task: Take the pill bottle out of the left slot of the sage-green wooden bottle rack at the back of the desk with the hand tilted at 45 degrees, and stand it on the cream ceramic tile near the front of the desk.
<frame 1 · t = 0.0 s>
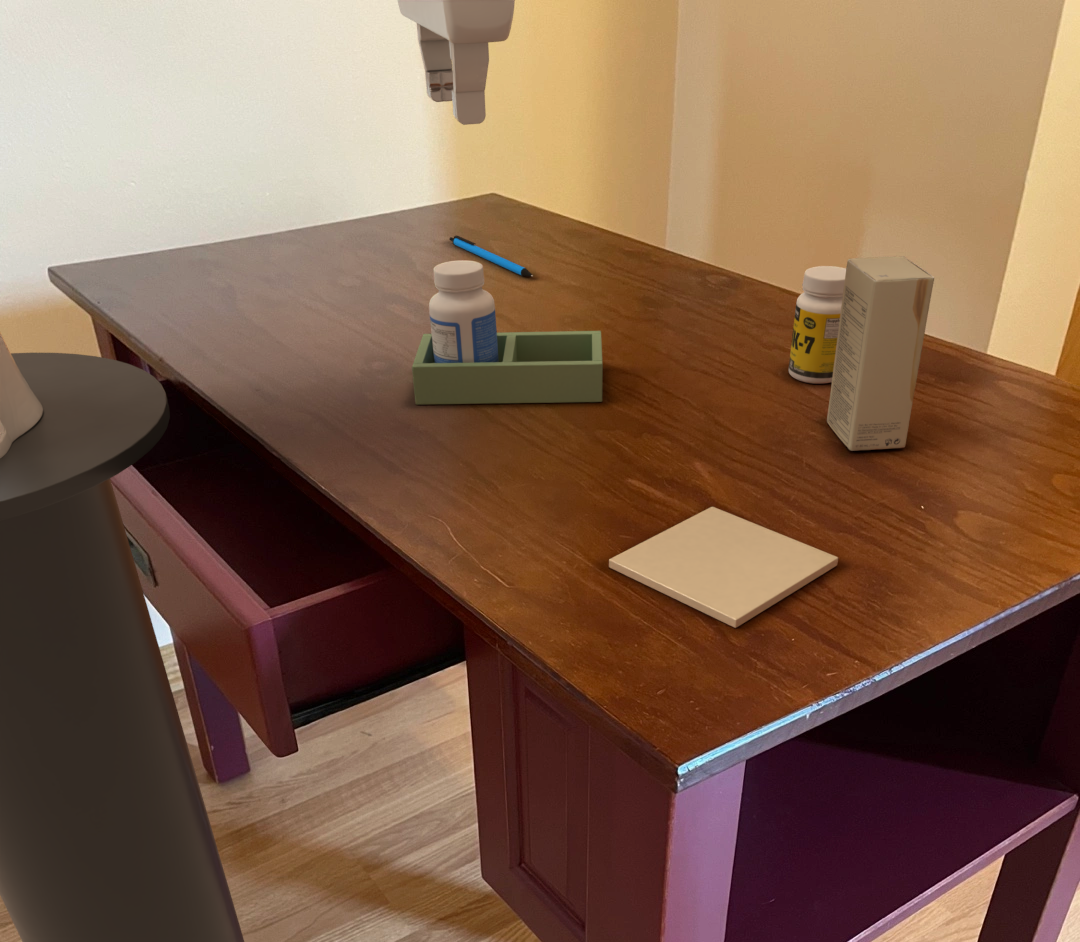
hand: (455, 111, 71), 22 cm above the table, tool pointing down, fingers open, 8 cm apart
bottle rack: (511, 385, 92), on the table
pill bottle: (468, 388, 93), resting in bottle rack
supplement bottle: (815, 377, 93), on the table
tile: (722, 566, 67), on the table
cosmetic box: (863, 437, 82), on the table
pen: (489, 262, 123), on the table
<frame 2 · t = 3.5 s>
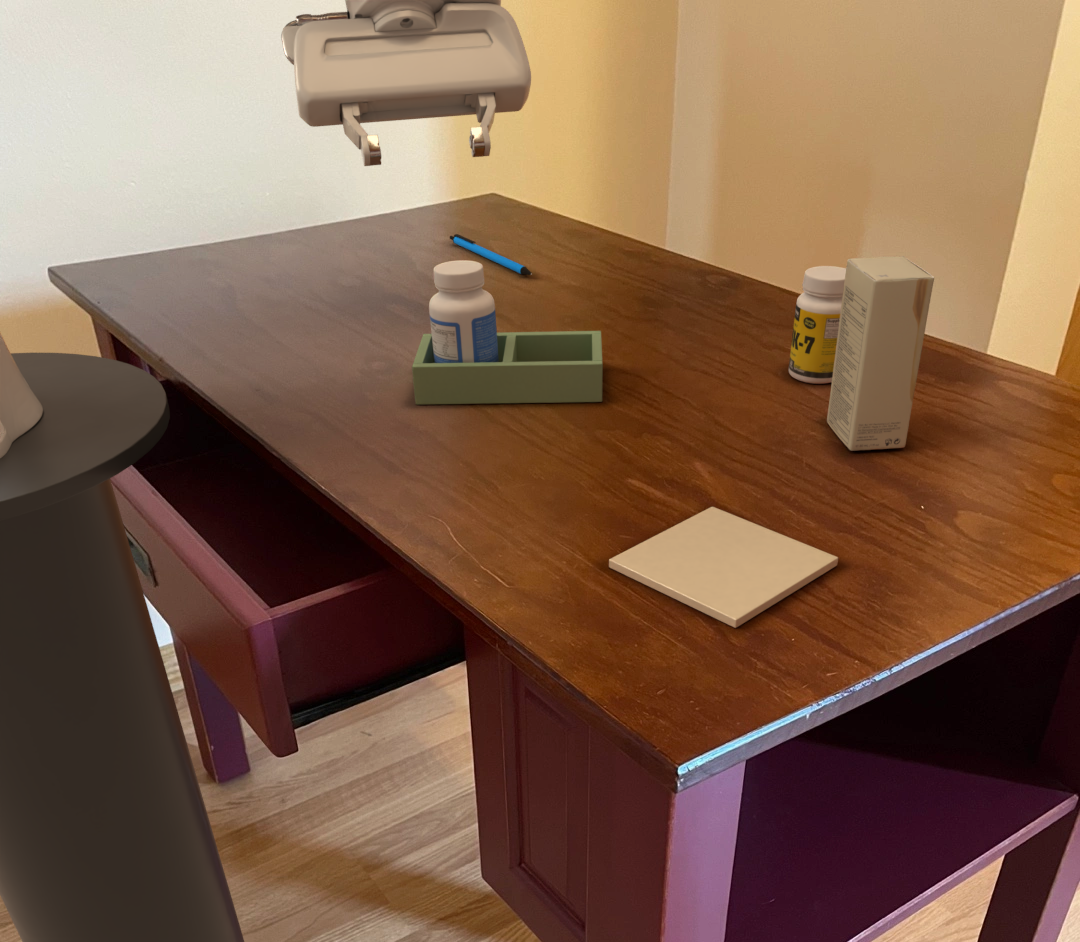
hand: (427, 157, 93), 16 cm above the table, tool tilted 45°, fingers open, 8 cm apart
nothing on the table moved.
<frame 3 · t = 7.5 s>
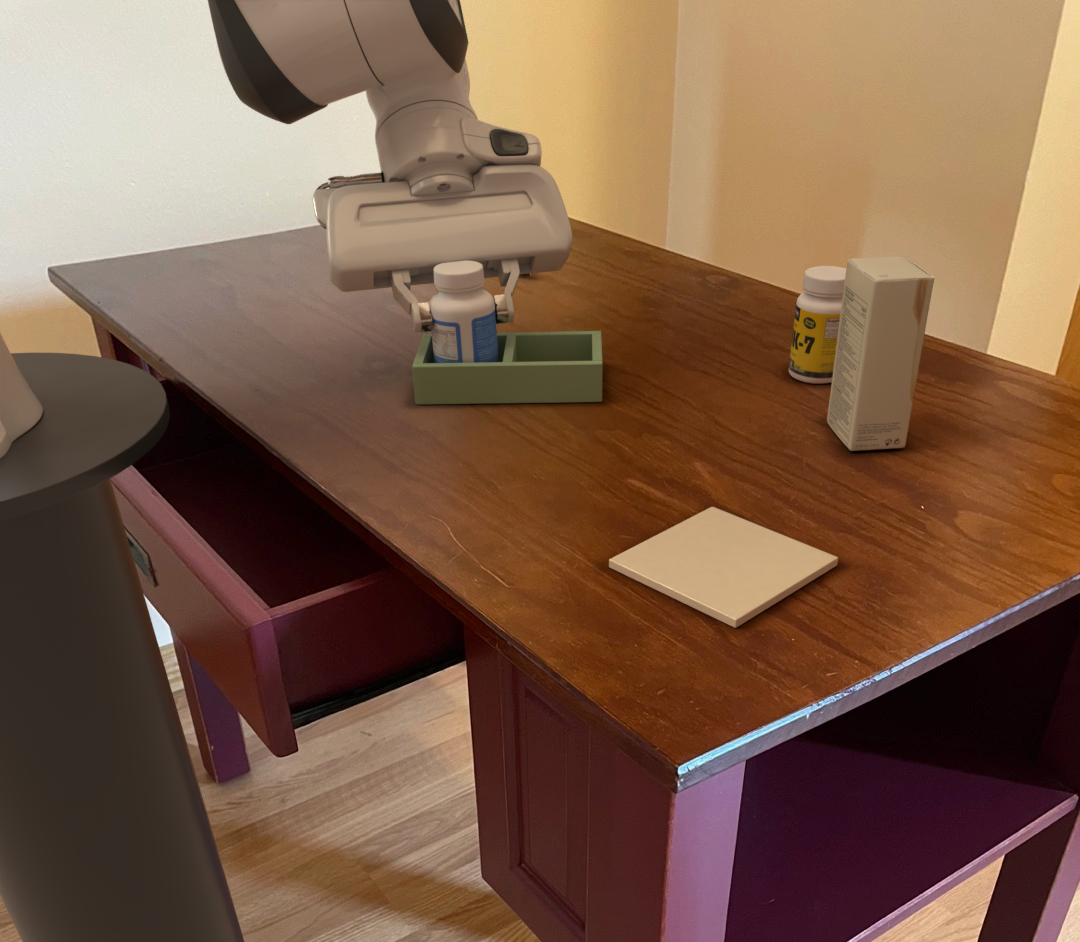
hand: (465, 324, 89), 5 cm above the table, tool tilted 45°, fingers closed on pill bottle, 5 cm apart
pill bottle: (468, 388, 93), resting in bottle rack, touching gripper
everything else where it was.
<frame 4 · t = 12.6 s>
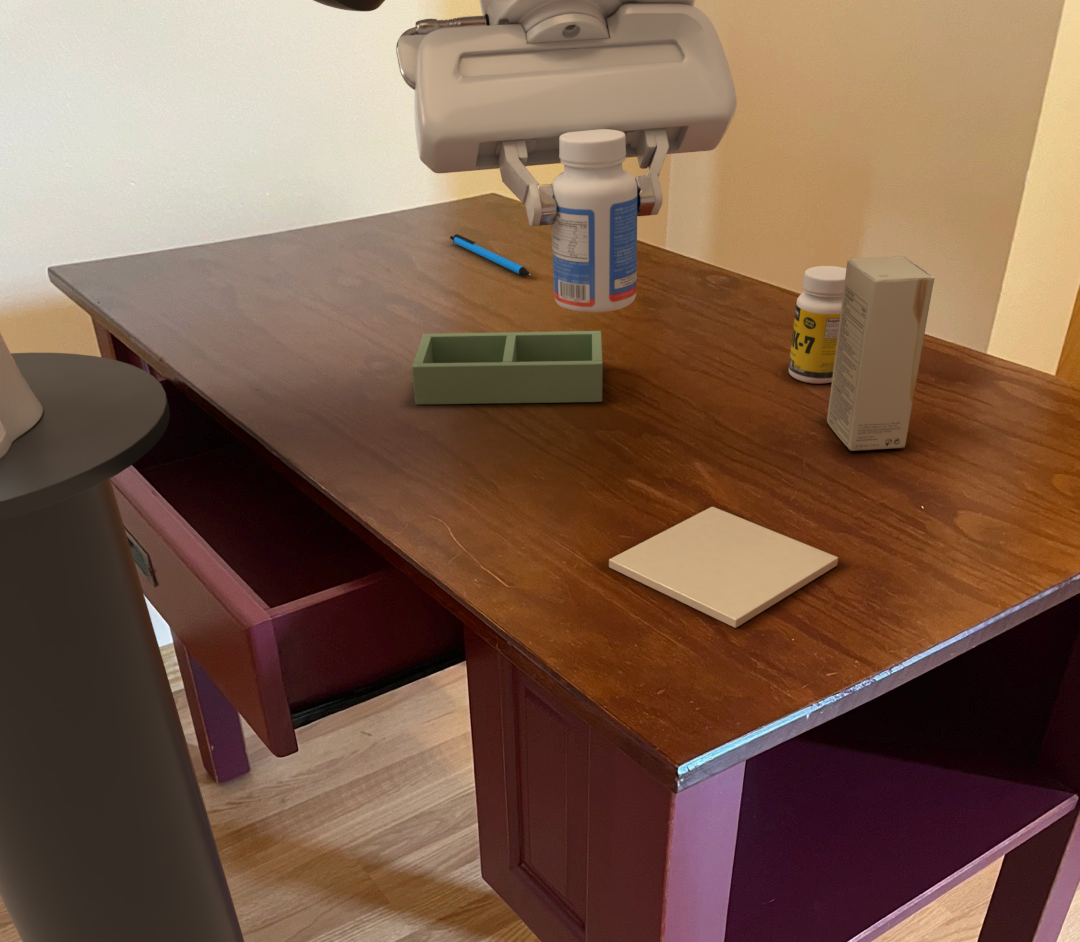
hand: (597, 215, 67), 17 cm above the table, tool tilted 45°, fingers closed on pill bottle, 5 cm apart
pill bottle: (594, 304, 71), point 12 cm above the table, touching gripper
everything else where it was.
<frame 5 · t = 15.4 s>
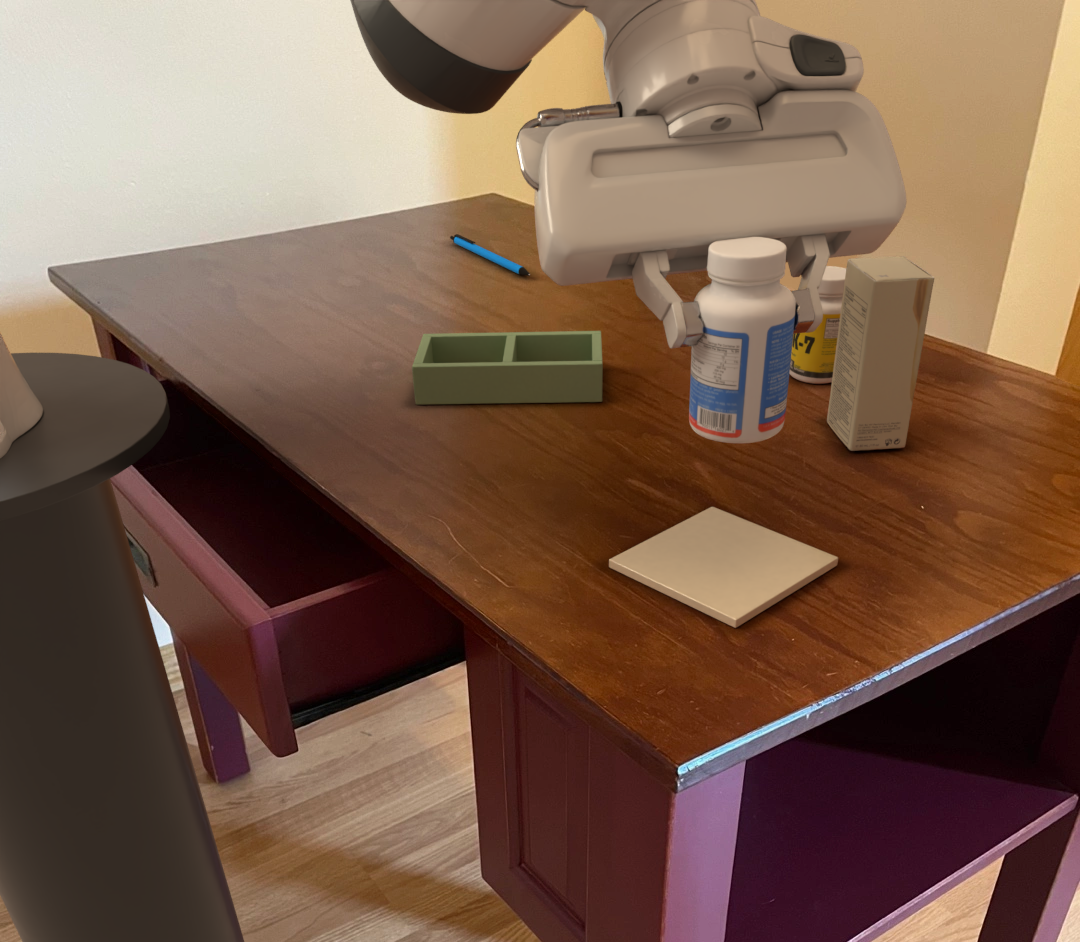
hand: (747, 335, 58), 14 cm above the table, tool tilted 45°, fingers closed on pill bottle, 5 cm apart
pill bottle: (734, 430, 62), point 9 cm above the table, touching gripper
everything else where it was.
when the fingers open (6 cm above the table, at t = 18.1 s): pill bottle stays where it is, resting on tile.
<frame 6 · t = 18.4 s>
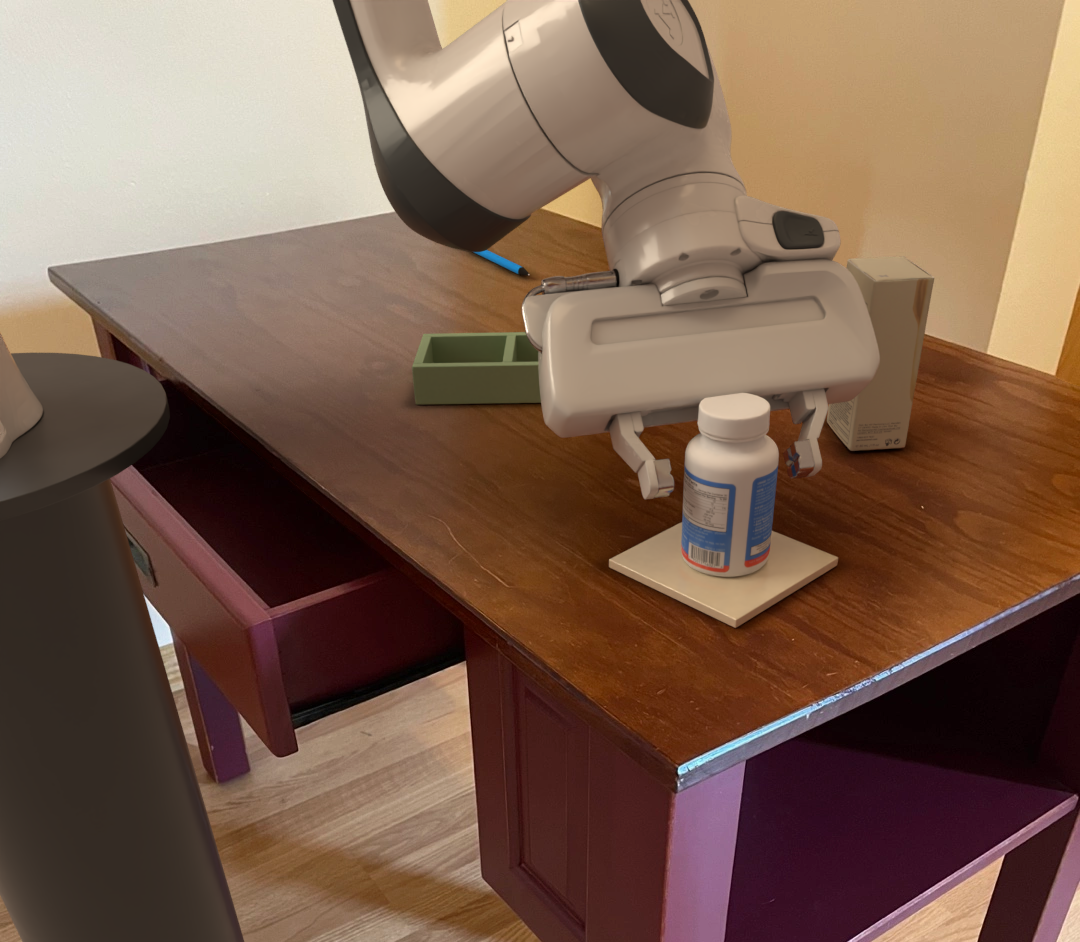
hand: (733, 484, 63), 6 cm above the table, tool tilted 45°, fingers open, 8 cm apart
pill bottle: (723, 560, 67), resting on tile
everything else where it was.
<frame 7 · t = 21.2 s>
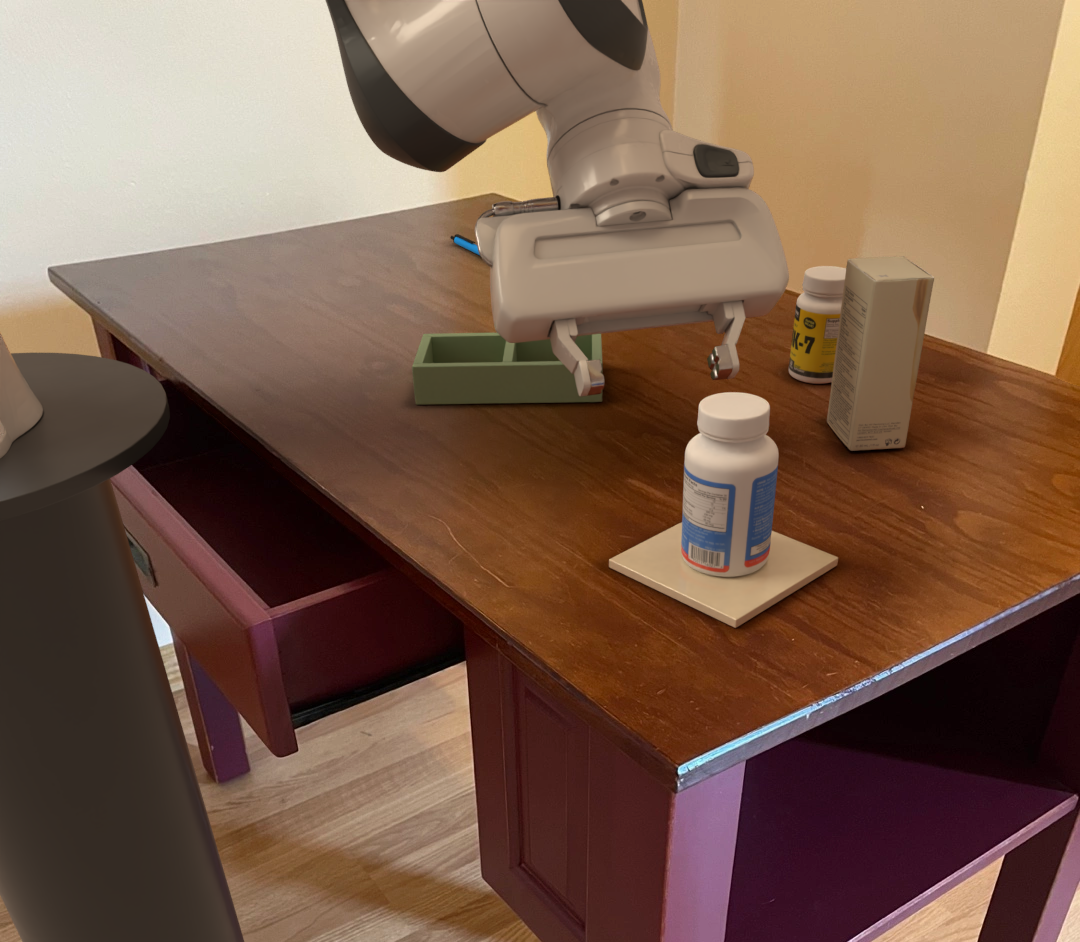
hand: (660, 383, 72), 7 cm above the table, tool tilted 45°, fingers open, 8 cm apart
nothing on the table moved.
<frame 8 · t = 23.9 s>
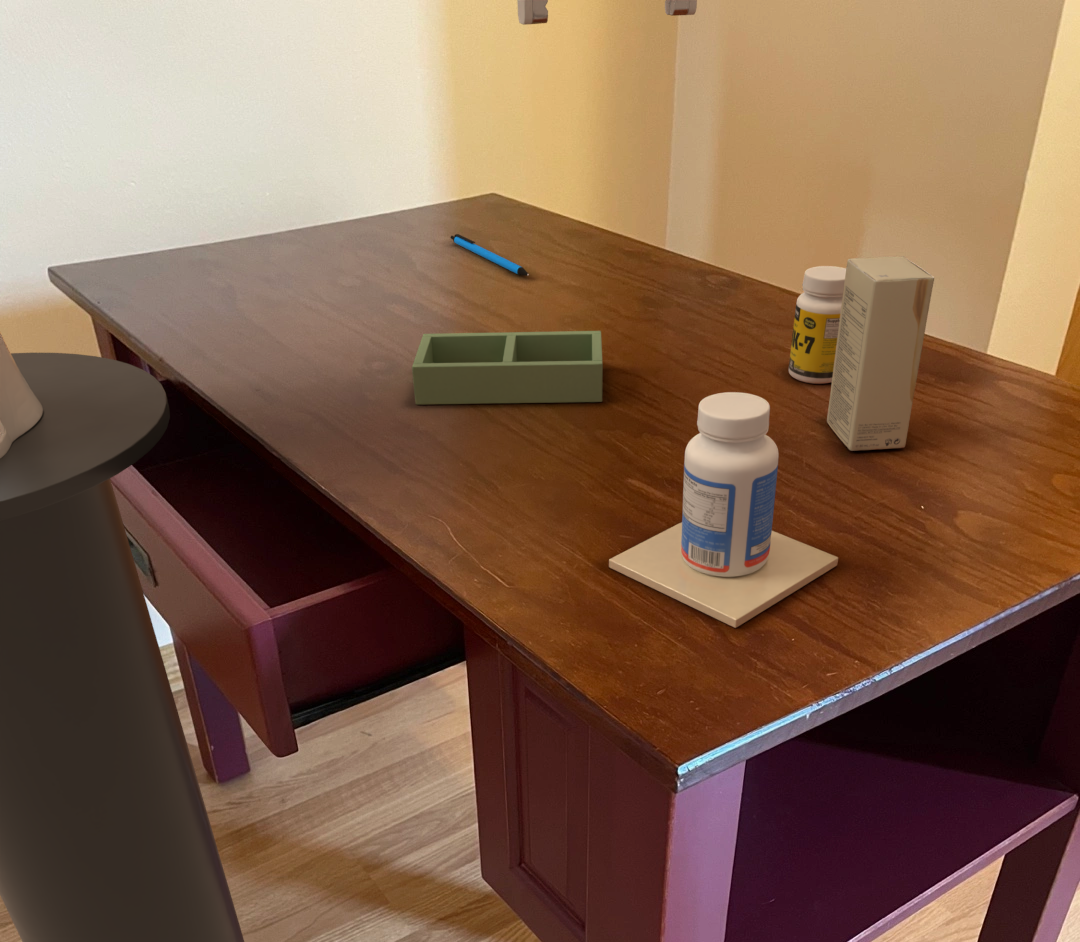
hand: (607, 19, 67), 27 cm above the table, tool pointing down, fingers open, 8 cm apart
nothing on the table moved.
at the end: pill bottle inside the target area on the tile (0.0 cm from its centre), point 0.4 cm above the tile's base; pill bottle tilted 0° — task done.
